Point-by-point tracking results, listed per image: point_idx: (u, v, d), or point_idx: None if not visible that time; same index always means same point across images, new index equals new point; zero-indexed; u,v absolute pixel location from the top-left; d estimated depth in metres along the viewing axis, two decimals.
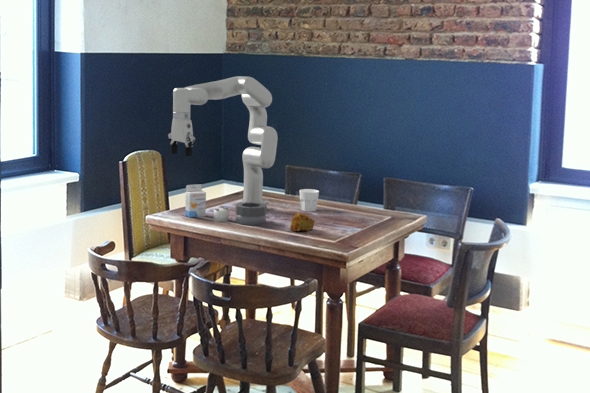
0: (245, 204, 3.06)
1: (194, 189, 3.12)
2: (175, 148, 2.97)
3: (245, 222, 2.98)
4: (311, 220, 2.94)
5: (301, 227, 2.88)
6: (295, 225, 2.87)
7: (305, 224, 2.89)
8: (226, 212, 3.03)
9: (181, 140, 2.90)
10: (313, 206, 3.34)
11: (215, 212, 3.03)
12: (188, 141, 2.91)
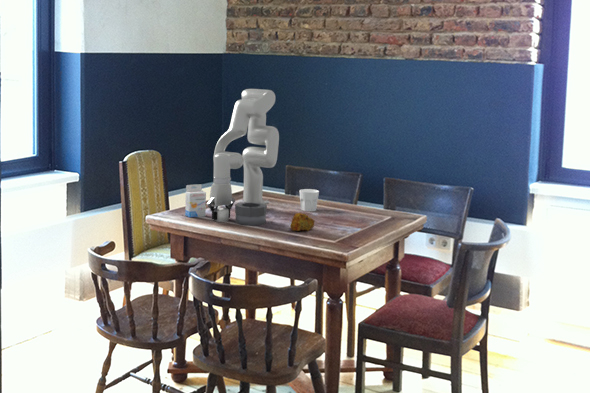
0: (245, 204, 3.06)
1: (194, 189, 3.12)
2: None
3: (245, 222, 2.98)
4: (311, 220, 2.94)
5: (301, 227, 2.88)
6: (295, 225, 2.88)
7: (305, 224, 2.89)
8: (226, 212, 3.03)
9: (228, 203, 3.05)
10: (313, 206, 3.34)
11: None
12: None
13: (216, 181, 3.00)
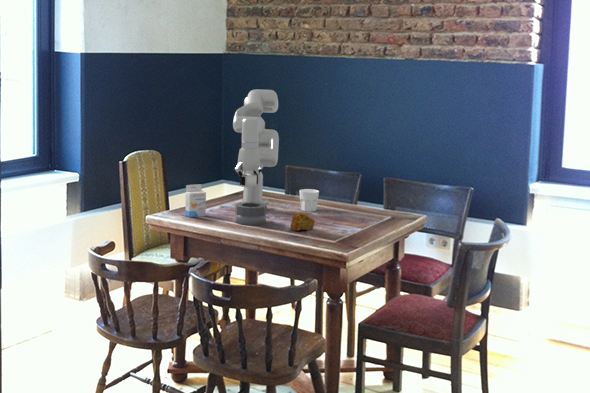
0: (245, 204, 3.06)
1: (194, 189, 3.12)
2: None
3: (245, 222, 2.98)
4: (311, 220, 2.94)
5: (301, 226, 2.88)
6: (295, 224, 2.88)
7: (305, 224, 2.90)
8: (254, 177, 2.99)
9: (256, 168, 3.00)
10: (313, 206, 3.34)
11: None
12: None
13: (244, 145, 2.95)
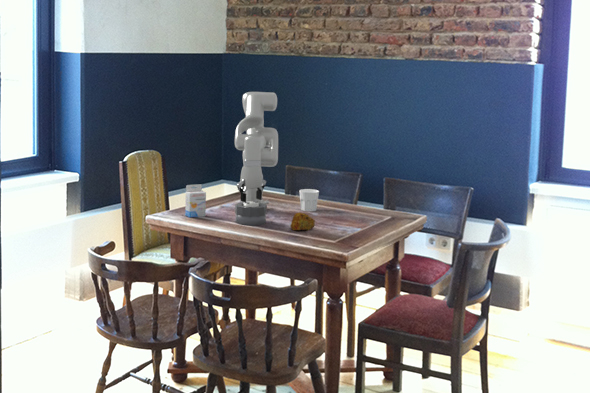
0: None
1: (194, 189, 3.12)
2: None
3: (245, 222, 2.98)
4: (312, 219, 2.95)
5: (301, 226, 2.89)
6: (295, 224, 2.89)
7: (305, 223, 2.90)
8: (256, 205, 3.01)
9: (258, 186, 3.02)
10: (313, 206, 3.34)
11: (245, 205, 3.01)
12: None
13: (247, 164, 2.97)
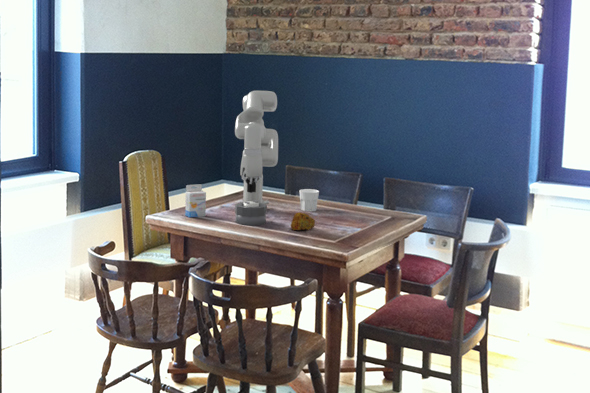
0: None
1: (194, 189, 3.12)
2: None
3: (245, 222, 2.98)
4: (312, 219, 2.95)
5: (301, 226, 2.89)
6: (295, 224, 2.89)
7: (305, 223, 2.90)
8: (256, 205, 3.01)
9: (259, 175, 3.01)
10: (313, 206, 3.34)
11: (245, 205, 3.01)
12: None
13: (247, 152, 2.96)
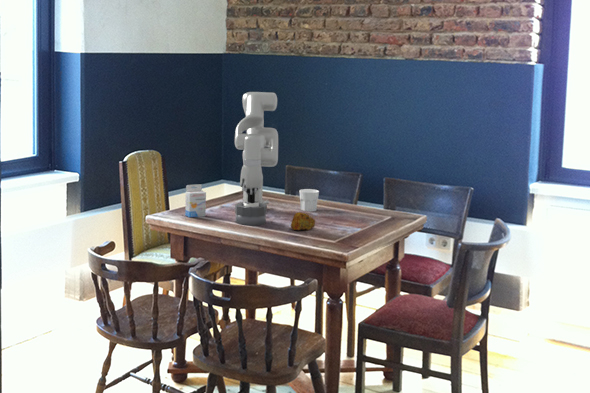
0: None
1: (194, 189, 3.12)
2: None
3: (245, 222, 2.98)
4: (312, 219, 2.95)
5: (301, 226, 2.89)
6: (295, 224, 2.89)
7: (305, 223, 2.90)
8: (256, 205, 3.01)
9: (258, 185, 3.02)
10: (313, 206, 3.34)
11: (245, 205, 3.01)
12: (254, 188, 3.03)
13: (247, 163, 2.96)
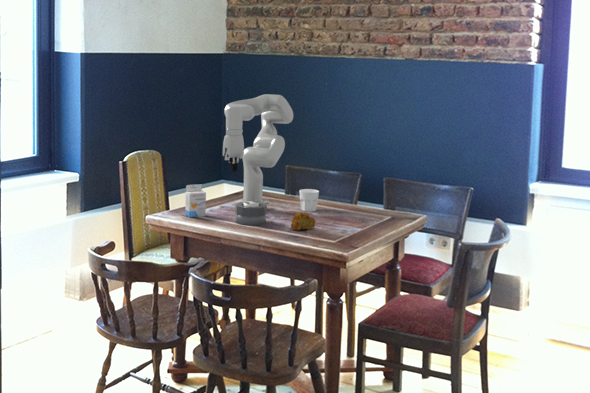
0: None
1: (194, 189, 3.12)
2: None
3: (245, 222, 2.98)
4: (312, 219, 2.96)
5: (301, 226, 2.90)
6: (295, 224, 2.89)
7: (305, 223, 2.91)
8: (256, 205, 3.01)
9: (240, 154, 3.08)
10: (313, 206, 3.34)
11: (245, 205, 3.01)
12: (236, 157, 3.09)
13: (229, 133, 3.02)
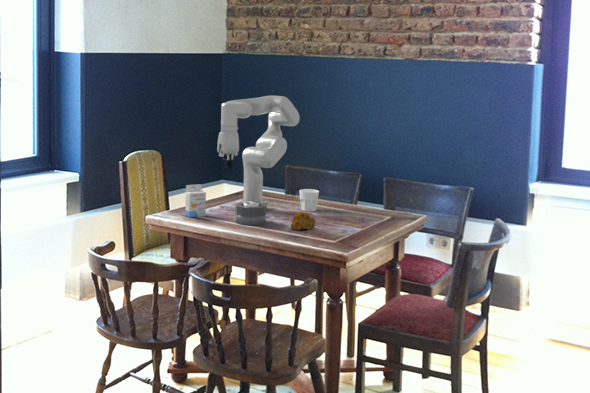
0: None
1: (194, 189, 3.12)
2: None
3: (245, 222, 2.98)
4: (312, 219, 2.96)
5: (301, 226, 2.90)
6: (295, 224, 2.90)
7: (305, 223, 2.91)
8: (256, 205, 3.01)
9: (235, 151, 3.10)
10: (313, 206, 3.34)
11: (245, 205, 3.01)
12: (231, 154, 3.11)
13: (223, 129, 3.04)
